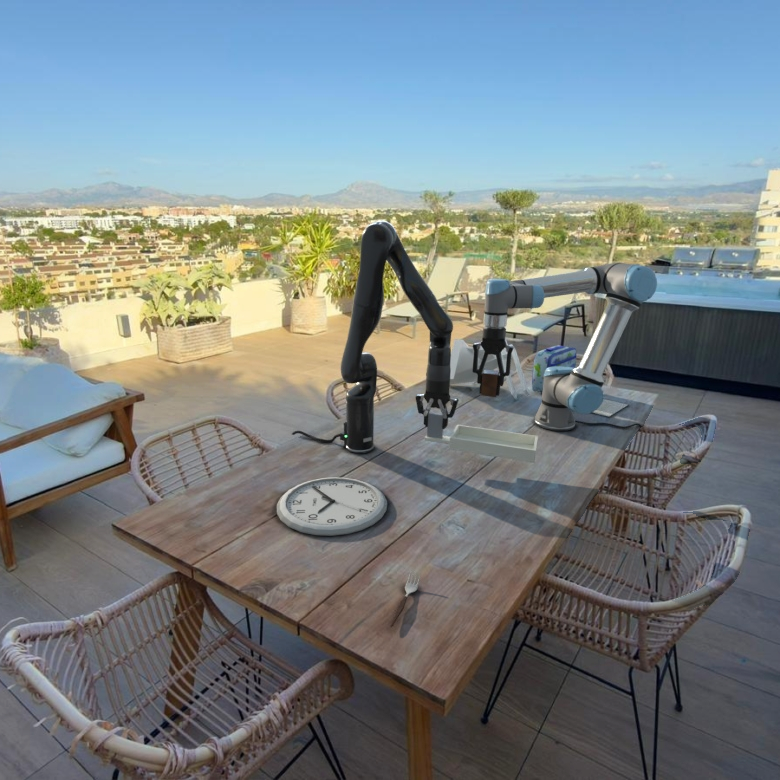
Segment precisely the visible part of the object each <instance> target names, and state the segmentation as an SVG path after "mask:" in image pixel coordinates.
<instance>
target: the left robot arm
mask: <svg viewBox="0 0 780 780" xmlns="http://www.w3.org/2000/svg"><path fill="white" fill-rule="evenodd" d="M386 263H388V264H389V265H390V267H391V269H392V271H393V272H394V274H395V276H396V278H397V280H398V283H399V285H400V287H401V289H402V291H403V293H404V294H405V296H406V298H407V299H408V301H409V302H410V304H411V305H412V306H413V308H414V309H415V311H416V312H418V314H419V315H420V317H421V319H422V321H423V323H424V324H425V326H426V327H427V329H428V331H429V345H428V352H427V365H426V372H425V392H424V393H422V394H421V393H418V394H417V395H416V396H415V402H416V408H417V412H418V414H420V415H423V426H425V427H426V428H427V427H428V413H429V412H431V409H435V408H436V409H439V410H440V413H441V414H442V415H443V422H442V429H443V430H445V429H447V428H448V425H449V419H450V418H451V419H452V418H453V417H454V415H455V412H456V410H457V406H458V404H459V398H453V397H451V395H450V388H451V387H450V386H451V384H450V373H451V368H450V361H451V352H452V348H451V347H452V346H451V341H452V333H453V330H454V323H453V319H452V317H451V315H449V314H448V313H447V312H446V311H444V308H442V306H441V305H440V303H439V302H438V299H437V297H436V295H435V293H434V292H433V290H431V287H429V285H428V284H427V282H426V281H425V280H424V278H423V276H422V275H421V274H420V272H419V270H418V269H417V268H416V266H415V264H414V263H413V261H412V259H411V258H410V256H409V255H408V252H407V250H406V249H405V246H404V245H403V243H402V241H401V239H400V237H399V234H398V232H397V231H396V229H395V227H394V226H393V225H392V224H391V223H390V222H388V221H385V220H378V221H375V222H373V223H371V224H369V225H368V226H366V227H365V229H363V232H362V234H361V239H360V256H359V268H358V269H359V270H358V274H357V279H356V282H355V283H356V284H355V288H354V289H355V291H354V294H353V299H352V306H351V314H350V321H349V327H348V333H347V338H346V341H345V345H344V348H343V349H344V350H343V353H342V357H341V361H340V362H341V363H340V375H341V379H342V380H343V381H344V382H345V383H347V384H348V385H349V384H351V385H353V384H354V386H352V388H350V389H349V390H348V391H347V392H346V393H345V406H346V407H345V408H346V409H345V412H346V414H345V415H346V420H345V421H344V422H343V431H342V432H340V433H337V434H335V435H334V436H333V437H332V438H331V439H323V438H319V437H316V436H314V435H311V434H308V433H306V432H305V431H302V430H294V431H293V432H291V435H293V436H295V435H297V434H299V435H302V436H305V437H307V438H309V439H311V440H314V441H316V442H321V443H325V444H326V443H328V444H329V443H333V442H334V441H336V439H337V438H338V437H339V440H340V441H343V448H344V449H346V451H348V452H350V453H353V454H367V453H370V452H372V451H373V450H374V448H375V444H374V432H375V431H374V424H375V423H374V420H375V418H374V415H375V414H374V413H375V411H374V410H375V408H374V407H375V405H374V404H375V395H376V393H377V381H378V364H377V361H376V358H375V357H374V355H373V354H372V353H370V352H364V348H365V346H366V344H367V342H368V341H369V338H370V337H371V336H372V334H373V333H374V331H375V330H376V328H377V327H378V325H379V323H380V321H381V317H382V312H383V308H384V301H385V293H384V292H385V291H384V273H385V267H386ZM423 401H426V403H427V405H426V407H425V409H424V404H423ZM449 402H450V405H451V408H450V411H449V410H448V407H447V404H448V403H449Z"/></svg>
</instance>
